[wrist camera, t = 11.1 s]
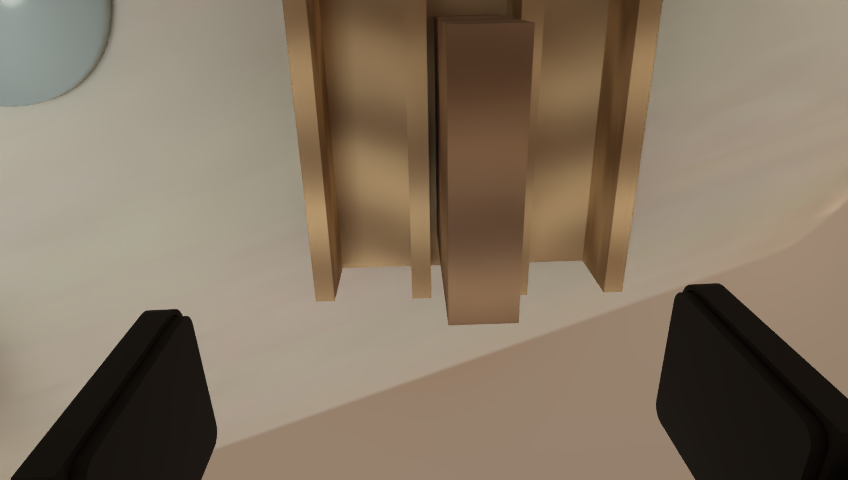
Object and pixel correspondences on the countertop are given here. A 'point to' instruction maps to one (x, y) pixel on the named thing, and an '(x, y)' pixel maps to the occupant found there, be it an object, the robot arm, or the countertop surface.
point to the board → (482, 162)
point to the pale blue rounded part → (49, 47)
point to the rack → (416, 140)
